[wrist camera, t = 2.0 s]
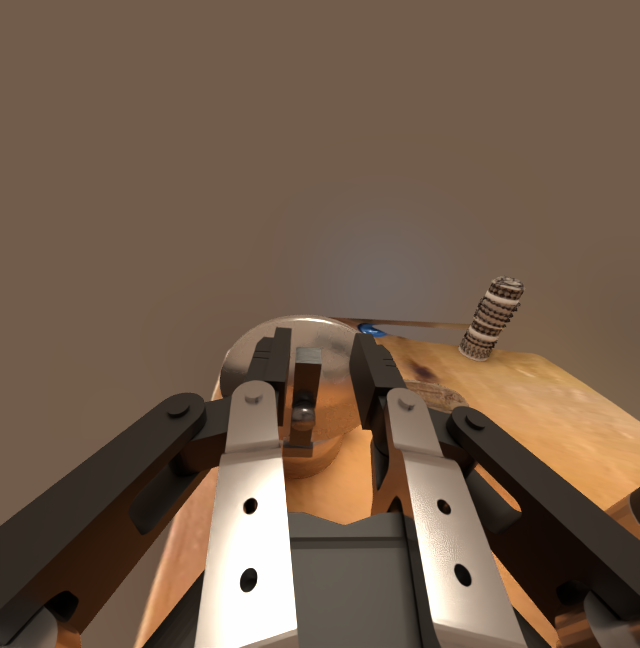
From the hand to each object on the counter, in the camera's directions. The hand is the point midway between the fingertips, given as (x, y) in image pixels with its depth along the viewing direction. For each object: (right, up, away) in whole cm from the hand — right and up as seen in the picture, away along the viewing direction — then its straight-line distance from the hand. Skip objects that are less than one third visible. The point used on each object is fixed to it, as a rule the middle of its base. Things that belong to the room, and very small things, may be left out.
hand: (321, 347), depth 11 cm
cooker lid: (-2, -6, +16) cm, 17 cm away
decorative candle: (+49, -9, +66) cm, 82 cm away
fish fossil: (+22, -16, +47) cm, 55 cm away
